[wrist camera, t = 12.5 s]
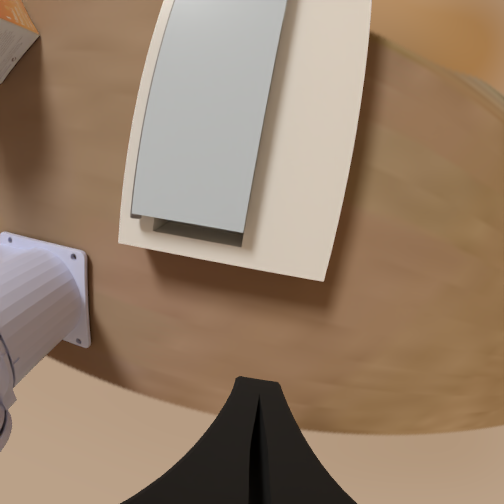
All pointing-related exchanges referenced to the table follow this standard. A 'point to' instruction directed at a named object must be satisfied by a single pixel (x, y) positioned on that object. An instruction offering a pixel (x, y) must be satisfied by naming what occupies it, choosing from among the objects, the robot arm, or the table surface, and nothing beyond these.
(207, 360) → the table surface
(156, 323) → the table surface
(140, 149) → the cover
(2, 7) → the small box
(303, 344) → the table surface
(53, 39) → the table surface
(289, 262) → the white sliding drawer case
